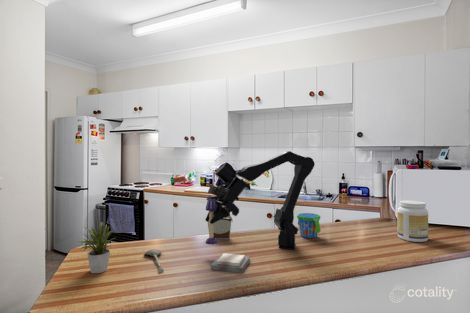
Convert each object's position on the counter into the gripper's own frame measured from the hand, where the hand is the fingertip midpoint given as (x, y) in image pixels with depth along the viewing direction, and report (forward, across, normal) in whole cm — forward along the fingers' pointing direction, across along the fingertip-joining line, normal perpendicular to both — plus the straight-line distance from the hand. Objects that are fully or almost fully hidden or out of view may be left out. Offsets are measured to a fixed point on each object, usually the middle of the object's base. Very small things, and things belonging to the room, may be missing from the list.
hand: (208, 222), depth 113 cm
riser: (+7, +12, +12) cm, 18 cm away
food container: (-1, -21, +20) cm, 29 cm away
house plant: (+36, -7, -18) cm, 41 cm away
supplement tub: (-54, +25, +74) cm, 95 cm away
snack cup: (-27, -1, +47) cm, 54 cm away
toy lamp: (+5, 0, +7) cm, 8 cm away
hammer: (+23, -5, -4) cm, 24 cm away
